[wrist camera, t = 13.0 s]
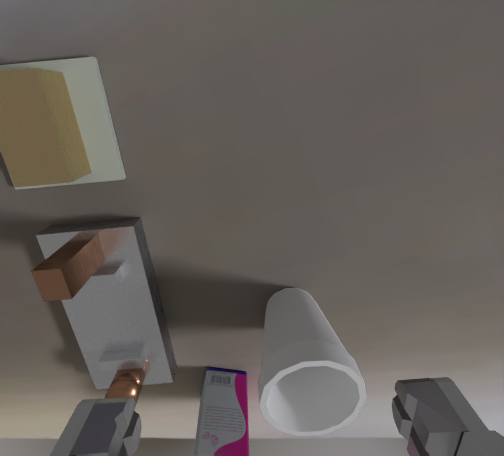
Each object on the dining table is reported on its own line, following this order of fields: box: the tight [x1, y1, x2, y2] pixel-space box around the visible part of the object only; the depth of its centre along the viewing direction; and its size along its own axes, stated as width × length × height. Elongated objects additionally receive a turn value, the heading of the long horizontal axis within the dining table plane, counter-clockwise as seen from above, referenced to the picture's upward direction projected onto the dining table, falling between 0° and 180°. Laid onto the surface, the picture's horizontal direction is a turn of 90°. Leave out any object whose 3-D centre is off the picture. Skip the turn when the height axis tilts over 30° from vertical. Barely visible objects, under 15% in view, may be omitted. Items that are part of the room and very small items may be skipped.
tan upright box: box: [0, 68, 92, 188], centre depth 27 cm, size 9×5×4 cm, turn 5°
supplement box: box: [194, 367, 249, 456], centre depth 38 cm, size 6×6×12 cm
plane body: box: [31, 218, 177, 403], centre depth 33 cm, size 22×10×10 cm, turn 5°
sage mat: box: [0, 57, 126, 189], centre depth 29 cm, size 11×11×1 cm
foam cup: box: [258, 288, 367, 436], centre depth 33 cm, size 10×9×13 cm
